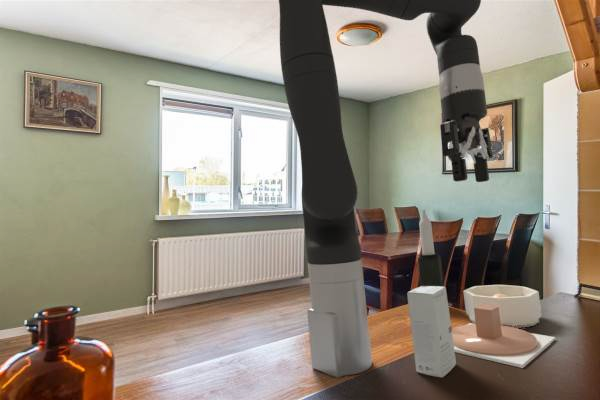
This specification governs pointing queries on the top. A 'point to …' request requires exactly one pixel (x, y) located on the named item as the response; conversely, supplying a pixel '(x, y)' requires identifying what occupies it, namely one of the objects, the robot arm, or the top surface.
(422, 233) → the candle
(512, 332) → the lid
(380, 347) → the top surface
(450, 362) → the skincare box
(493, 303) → the bowl
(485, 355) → the mat
